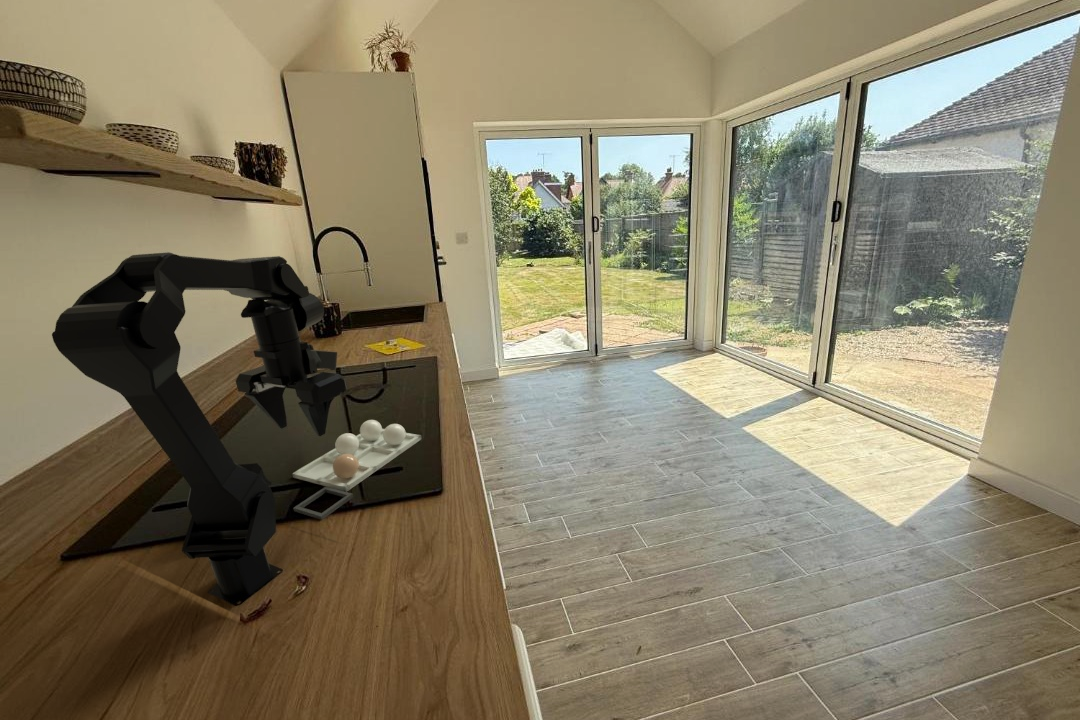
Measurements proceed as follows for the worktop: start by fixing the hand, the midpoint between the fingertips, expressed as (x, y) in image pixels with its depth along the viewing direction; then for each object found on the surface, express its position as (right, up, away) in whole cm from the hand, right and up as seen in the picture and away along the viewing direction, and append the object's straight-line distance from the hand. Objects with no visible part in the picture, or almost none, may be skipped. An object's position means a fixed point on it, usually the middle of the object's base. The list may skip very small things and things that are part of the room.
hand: (302, 431), depth 76 cm
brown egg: (+4, -10, +8) cm, 13 cm away
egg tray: (+4, -8, +15) cm, 17 cm away
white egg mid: (+1, -7, +16) cm, 18 cm away
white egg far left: (+10, -6, +19) cm, 22 cm away
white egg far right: (+4, -5, +21) cm, 22 cm away
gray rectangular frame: (+4, -13, 0) cm, 13 cm away
